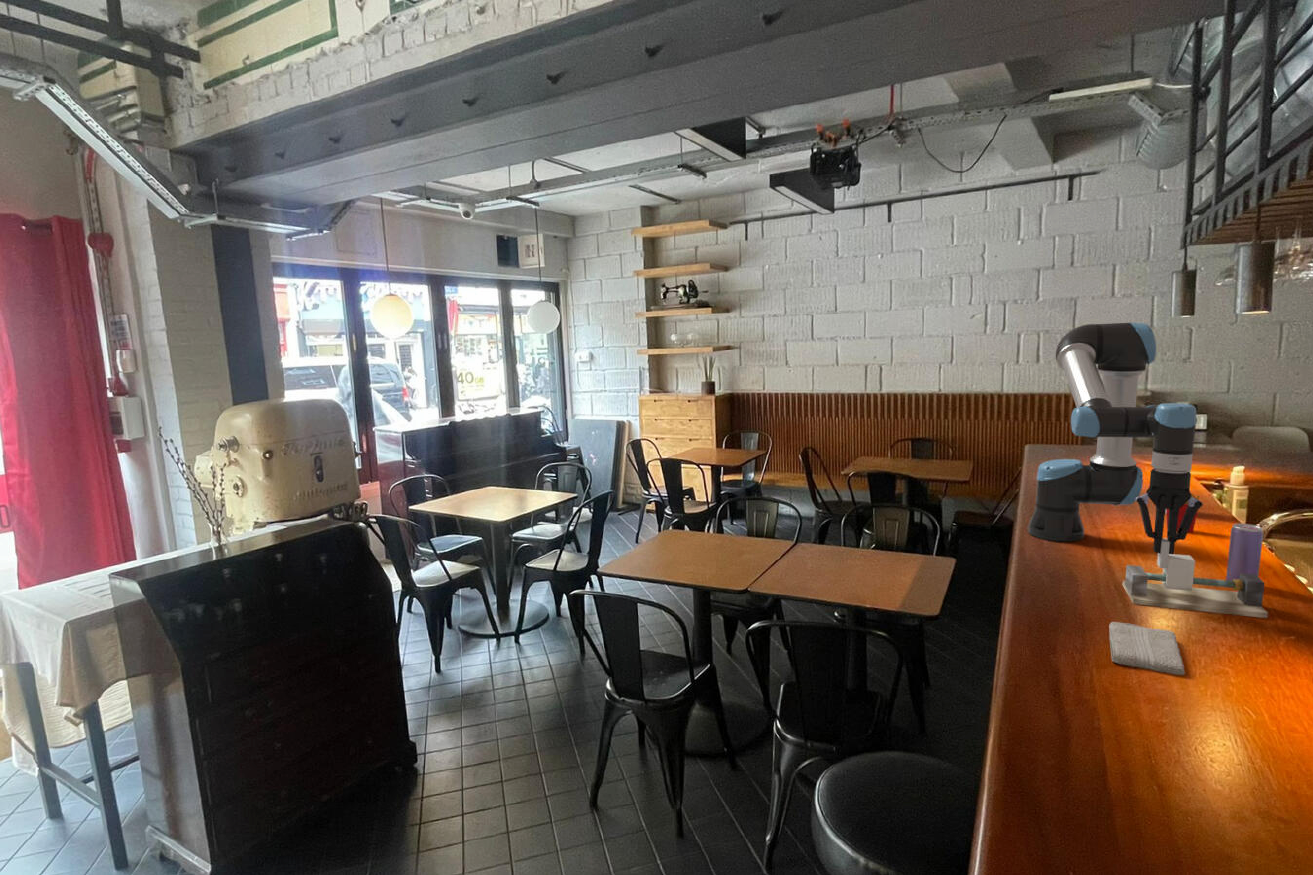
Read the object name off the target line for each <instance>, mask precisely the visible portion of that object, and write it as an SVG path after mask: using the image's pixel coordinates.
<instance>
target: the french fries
mask: <svg viewBox="0 0 1313 875" xmlns="http://www.w3.org/2000/svg"><path fill="white" fill-rule="evenodd" d="M1191 495H1192V496H1191V497H1193V498H1195V499H1198V500H1199V501H1200V495H1198V494H1197V495H1195V494H1194V493H1191ZM1188 506H1189V505H1188V501H1187V502H1186V503H1185V504H1184V505H1183V506H1182V507H1181V508H1179V514H1178V521H1177V531H1178V529H1179V526H1180V524H1181V522H1182V519H1183V517H1184V514H1185V512H1186V509H1187V507H1188ZM1198 511H1199V509H1198V510H1197V511H1196V514H1195V516H1194V519H1193V521H1192V523H1191V526H1190V528H1189V531H1188V533H1194V530H1195V524H1196V520H1197V515H1198ZM1165 514H1166V529H1167V530H1168V519H1169V509H1166V513H1165ZM1188 533H1187V534H1188Z"/></svg>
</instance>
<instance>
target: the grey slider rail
mask: <svg viewBox="0 0 1313 875" xmlns="http://www.w3.org/2000/svg"><path fill="white" fill-rule="evenodd" d="M1125 569H1126V570H1125V579H1124V580H1122V586H1123V588H1124V590H1125V592H1126V594H1127V595H1128V597H1129V599H1130V600H1131V602H1132V604H1135V605H1142V606H1153V607H1162V608H1168V609H1169V608H1171V609H1179V610H1187V611H1189V610H1190V611H1196V612H1197V611H1199V612H1205V613H1208V612H1209V613H1214V614H1215V613H1217V614H1224V615H1225V614H1226V615H1235V616H1242V617H1243V616H1245V617H1252V618H1253V617H1254V618H1262V619H1268V618H1269V617H1268V616H1269V612H1268V611H1267V610H1266V609H1264V607H1263V599H1264V592H1265V585H1266V584H1265V583H1266V582H1264V581H1263V580H1262V579H1261V578H1260V577H1259V575H1258V576H1257V575H1251V574H1240V576H1239V579H1233V581H1227V580H1226V579H1225V580H1224V579H1216V578H1204V577H1194V578H1193V585H1196V586H1197V585H1198V586H1199V585H1200V586H1206V587H1207V586H1210V587H1216V588H1217V587H1220V588H1228V589H1232V590H1233V591H1231V590H1224V589H1222V590H1221V589H1211V588H1202V587H1193V588H1192V591H1185V590H1174V589H1166V588H1165V586H1164V585H1163V583H1152V582H1148V581H1157V582H1162V581H1165V582H1166V575H1163V573H1150V572H1146V571H1145V570H1144V568H1143V566H1142V565H1141V566H1140V565H1132V564H1126V568H1125Z"/></svg>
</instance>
